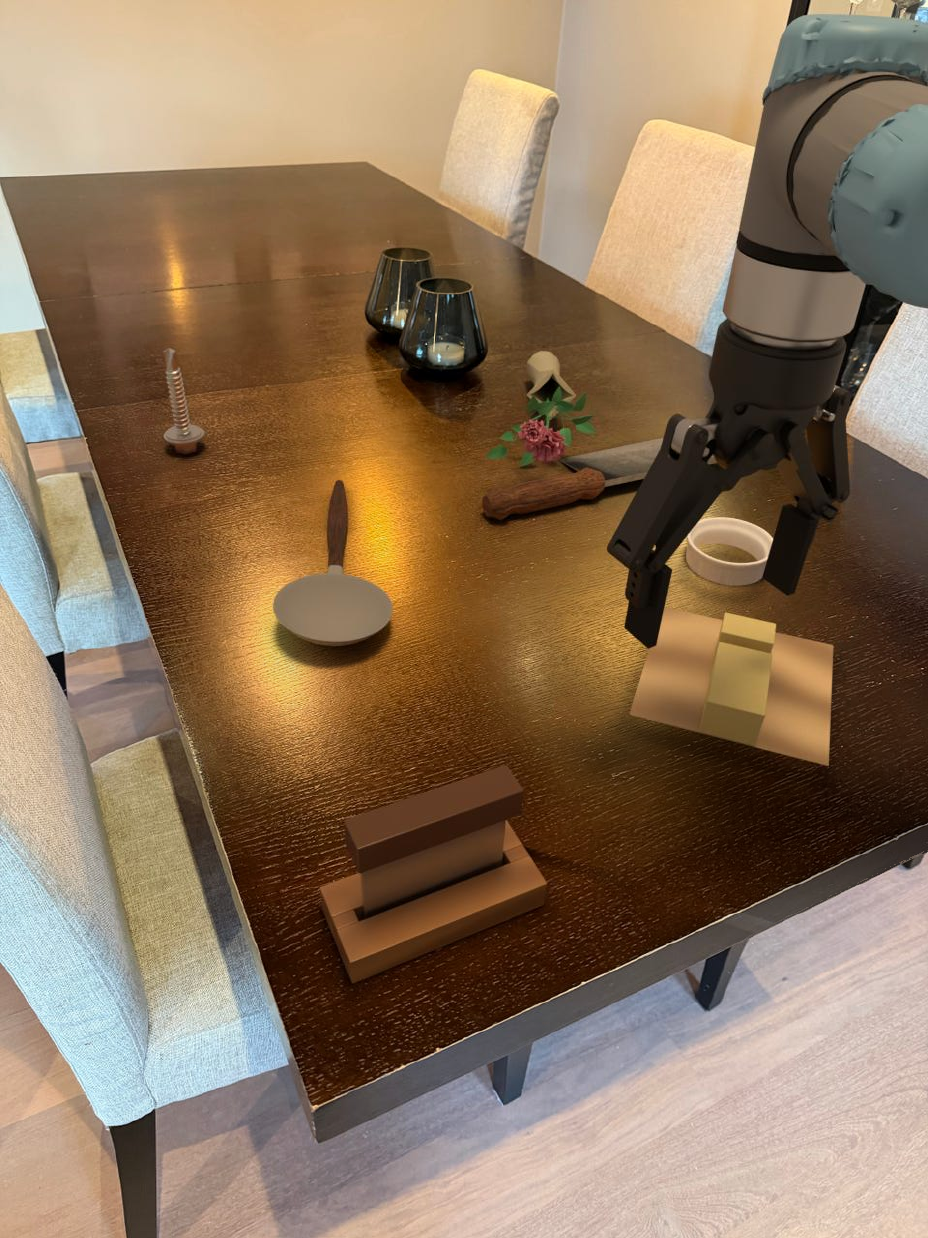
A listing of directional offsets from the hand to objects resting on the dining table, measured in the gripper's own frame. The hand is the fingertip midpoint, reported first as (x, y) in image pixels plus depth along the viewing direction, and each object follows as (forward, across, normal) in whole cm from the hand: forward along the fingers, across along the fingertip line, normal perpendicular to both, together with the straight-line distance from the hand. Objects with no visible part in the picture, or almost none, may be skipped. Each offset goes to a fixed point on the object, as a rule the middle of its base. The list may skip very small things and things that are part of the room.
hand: (711, 610), depth 66 cm
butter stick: (+12, -5, 0) cm, 13 cm away
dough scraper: (+14, +26, +4) cm, 29 cm away
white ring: (+13, -20, -16) cm, 29 cm away
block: (+14, +26, +4) cm, 29 cm away
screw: (+13, +22, -68) cm, 72 cm away
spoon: (+13, +15, -36) cm, 41 cm away
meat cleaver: (+13, -20, -39) cm, 46 cm away
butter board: (+13, -8, -2) cm, 16 cm away
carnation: (+10, -29, -64) cm, 72 cm away
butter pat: (+12, -10, -4) cm, 16 cm away
